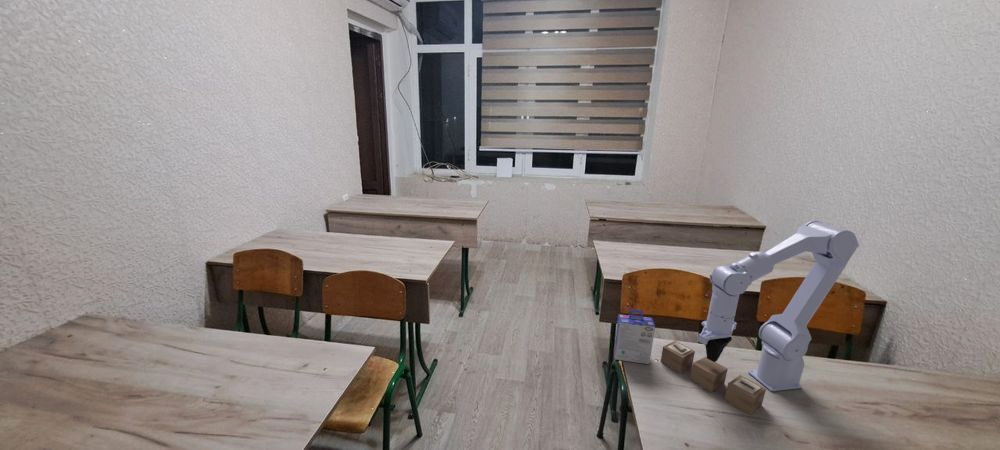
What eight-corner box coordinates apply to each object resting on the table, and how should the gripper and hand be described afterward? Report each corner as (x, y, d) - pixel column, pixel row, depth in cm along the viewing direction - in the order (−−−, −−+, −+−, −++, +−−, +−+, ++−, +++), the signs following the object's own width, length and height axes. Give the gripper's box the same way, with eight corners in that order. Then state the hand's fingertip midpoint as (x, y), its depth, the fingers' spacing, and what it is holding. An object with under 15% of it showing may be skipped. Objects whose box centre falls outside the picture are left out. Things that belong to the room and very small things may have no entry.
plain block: (702, 372, 106) (705, 356, 105) (724, 384, 101) (727, 368, 100) (689, 379, 103) (692, 363, 102) (711, 392, 98) (715, 376, 97)
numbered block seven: (672, 355, 113) (675, 339, 112) (692, 366, 108) (695, 349, 107) (660, 361, 110) (663, 345, 109) (679, 373, 105) (682, 356, 104)
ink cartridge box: (647, 353, 113) (654, 310, 109) (650, 365, 108) (657, 319, 104) (613, 349, 115) (618, 305, 111) (614, 360, 110) (620, 315, 106)
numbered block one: (736, 391, 99) (740, 373, 97) (761, 405, 94) (766, 387, 93) (724, 400, 96) (728, 381, 94) (749, 415, 91) (754, 396, 89)
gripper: (720, 299, 103) (711, 343, 107) (690, 313, 96) (681, 359, 99) (748, 311, 98) (738, 356, 101) (718, 326, 90) (708, 375, 94)
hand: (711, 359), depth 100 cm, fingers closed
